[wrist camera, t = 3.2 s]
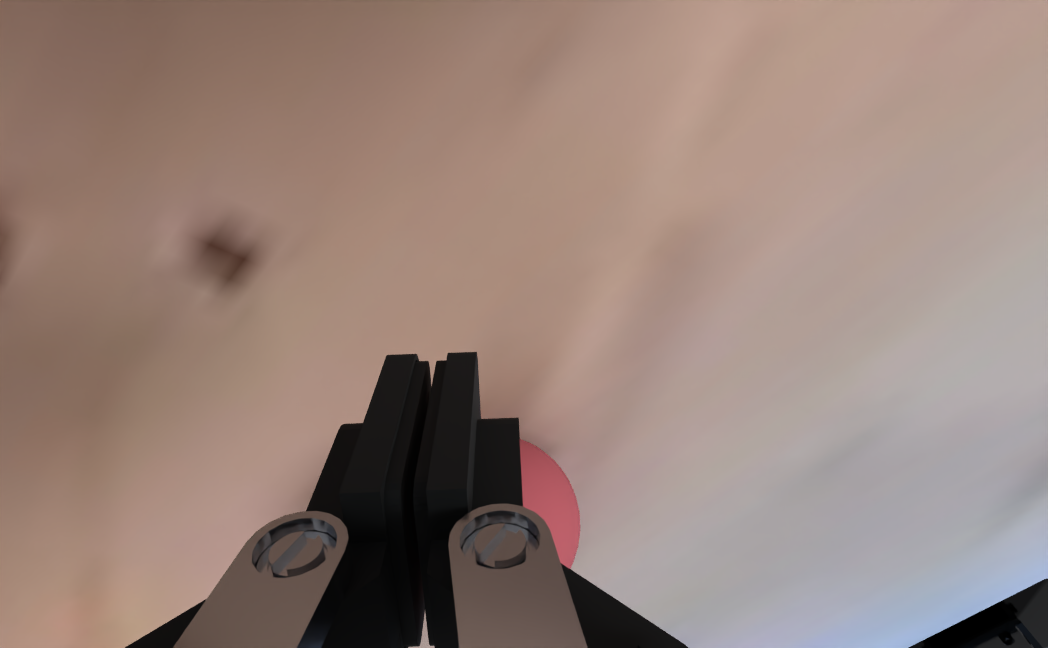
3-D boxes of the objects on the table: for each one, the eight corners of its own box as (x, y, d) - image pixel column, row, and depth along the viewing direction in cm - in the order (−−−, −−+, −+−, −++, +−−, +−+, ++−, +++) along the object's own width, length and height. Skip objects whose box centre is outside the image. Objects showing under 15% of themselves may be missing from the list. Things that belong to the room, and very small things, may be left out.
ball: (408, 403, 23) (377, 521, 18) (573, 399, 23) (592, 516, 18) (423, 528, 26) (399, 664, 20) (571, 524, 26) (586, 659, 21)
